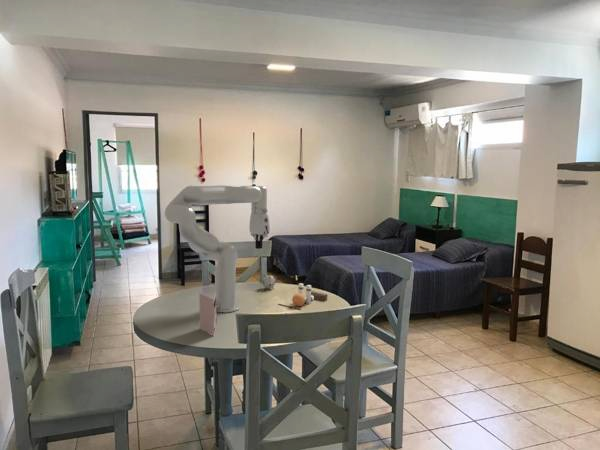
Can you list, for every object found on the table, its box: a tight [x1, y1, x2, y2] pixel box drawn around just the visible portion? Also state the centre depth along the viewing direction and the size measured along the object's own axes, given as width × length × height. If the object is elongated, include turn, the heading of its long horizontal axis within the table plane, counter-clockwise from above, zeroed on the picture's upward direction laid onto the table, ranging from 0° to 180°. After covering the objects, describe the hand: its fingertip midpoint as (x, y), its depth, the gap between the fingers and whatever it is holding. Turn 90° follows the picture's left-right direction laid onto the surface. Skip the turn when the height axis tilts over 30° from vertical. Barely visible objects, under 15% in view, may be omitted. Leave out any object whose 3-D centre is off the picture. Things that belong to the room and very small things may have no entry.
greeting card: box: [198, 293, 218, 336], centre depth 194 cm, size 11×7×15 cm, turn 5°
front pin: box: [304, 295, 314, 304], centre depth 241 cm, size 2×2×9 cm
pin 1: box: [297, 282, 304, 296], centre depth 241 cm, size 2×2×9 cm
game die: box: [261, 273, 278, 290], centre depth 266 cm, size 9×8×10 cm
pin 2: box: [305, 284, 312, 305], centre depth 238 cm, size 2×2×9 cm
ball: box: [291, 293, 305, 307], centre depth 233 cm, size 6×6×6 cm
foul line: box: [277, 303, 302, 311], centre depth 232 cm, size 1×14×1 cm, turn 50°
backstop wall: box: [311, 290, 328, 302], centre depth 248 cm, size 2×12×3 cm, turn 50°
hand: (258, 248), depth 238 cm, fingers closed
